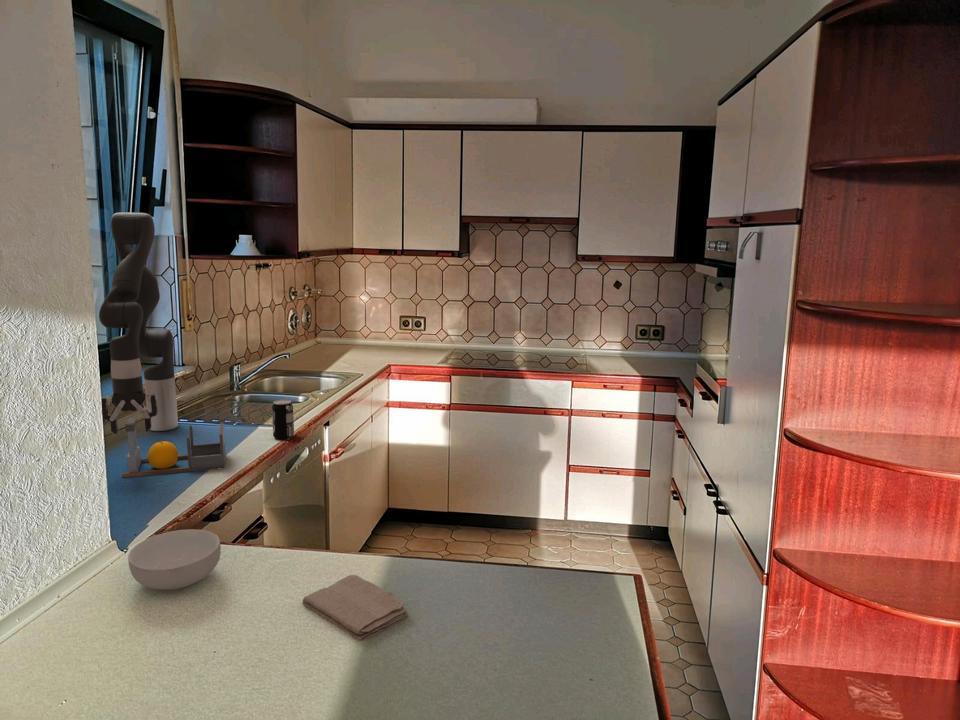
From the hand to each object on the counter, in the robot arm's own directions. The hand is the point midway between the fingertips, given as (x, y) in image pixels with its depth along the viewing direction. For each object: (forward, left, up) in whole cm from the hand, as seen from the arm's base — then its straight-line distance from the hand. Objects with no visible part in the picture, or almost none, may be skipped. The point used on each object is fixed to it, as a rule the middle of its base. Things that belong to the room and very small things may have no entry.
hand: (131, 432), depth 199 cm
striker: (0, 0, -11) cm, 11 cm away
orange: (0, +8, -11) cm, 14 cm away
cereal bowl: (+70, +17, -11) cm, 73 cm away
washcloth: (+91, +48, -12) cm, 104 cm away
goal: (0, +19, -11) cm, 22 cm away
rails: (0, +6, -11) cm, 12 cm away
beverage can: (-19, +42, -11) cm, 47 cm away
